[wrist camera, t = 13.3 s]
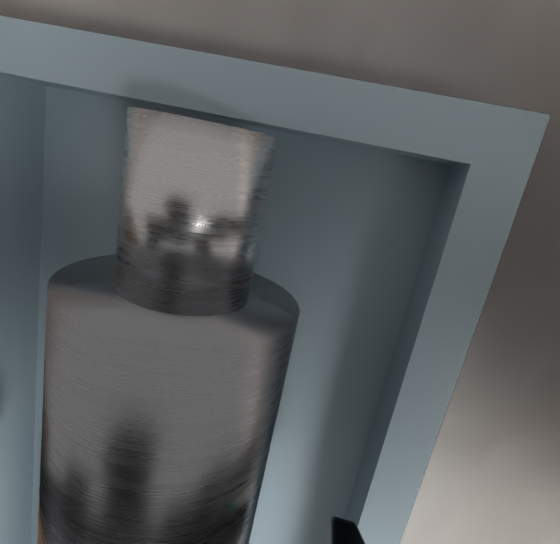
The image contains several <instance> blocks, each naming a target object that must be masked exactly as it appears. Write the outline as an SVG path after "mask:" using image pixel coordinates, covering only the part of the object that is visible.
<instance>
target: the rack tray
mask: <svg viewBox="0 0 560 544" xmlns="http://www.w3.org/2000/svg"><path fill="white" fill-rule="evenodd" d="M127 107H136V108H143V109H149V110H154V111H160V112H165V113H170V114H176V115H181V116H186V117H191V118H196V119H200V120H205V121H210V122H215V123H219V124H224V125H228V126H233V127H237V128H242V129H246V130H250V131H254V132H258V133H262V134H266V135H270V136H273V137H276V138H278V141H277V146H276V152H275V157H274V163H273V168H272V174H271V179H270V185H269V190H268V196H267V201H266V207H265V212H264V218H263V223H262V229H261V234H260V240H259V245H258V251H257V256H256V261H255V267H254V272H253V273H255V274H258V275H260V276H263V277H265V278H267V279H269V280H271V281H273V282H274V283H276V284H278V285H280V286H281V287H282V288H284V289H285V290H286V291H288V292H289V293H290V294H291V295H292V296H293V297H294V299H295V300H296V301H297V303H298V305H299V309H300V313H299V319H298V323H297V328H296V332H295V337H294V341H293V346H292V350H291V355H290V360H289V364H288V369H287V373H286V378H285V382H284V387H283V391H282V396H281V400H280V405H279V409H278V414H277V418H276V423H275V427H274V432H273V436H272V441H271V445H270V450H269V455H268V459H267V464H266V468H265V473H264V477H263V482H262V486H261V491H260V495H259V500H258V504H257V509H256V513H255V518H254V522H253V527H252V531H251V536H250V540H249V544H323V541H324V538H325V534H326V531H327V527H328V524H329V521H330V519H331V518H332V517H334V516H336V517H339V518H343V519H346V520H350V521H353V522H354V523H355V524H356V525H357V527H358V529H359V531H360V533H361V535H362V537H363V539H364V542H365V544H400V542H401V539H402V536H403V533H404V530H405V527H406V525H407V522H408V519H409V516H410V513H411V510H412V508H413V505H414V502H415V499H416V496H417V493H418V491H419V488H420V485H421V482H422V479H423V476H424V474H425V471H426V468H427V465H428V462H429V459H430V457H431V454H432V451H433V448H434V445H435V442H436V439H437V437H438V434H439V431H440V428H441V425H442V422H443V420H444V417H445V414H446V411H447V408H448V405H449V403H450V400H451V397H452V394H453V391H454V388H455V386H456V383H457V380H458V377H459V374H460V371H461V369H462V366H463V363H464V360H465V357H466V354H467V352H468V349H469V346H470V343H471V340H472V337H473V335H474V332H475V329H476V326H477V323H478V320H479V317H480V315H481V312H482V309H483V306H484V303H485V300H486V298H487V295H488V292H489V289H490V286H491V283H492V281H493V278H494V275H495V272H496V269H497V266H498V264H499V261H500V258H501V255H502V252H503V249H504V247H505V244H506V241H507V238H508V235H509V232H510V230H511V227H512V224H513V221H514V218H515V215H516V212H517V210H518V207H519V204H520V201H521V198H522V195H523V193H524V190H525V187H526V184H527V181H528V178H529V176H530V173H531V170H532V167H533V164H534V161H535V159H536V156H537V153H538V150H539V147H540V144H541V142H542V139H543V136H544V133H545V130H546V127H547V125H548V122H549V119H550V116H551V115H549V114H544V113H538V112H533V111H527V110H522V109H516V108H510V107H505V106H499V105H494V104H488V103H483V102H477V101H472V100H466V99H461V98H455V97H449V96H444V95H438V94H433V93H427V92H422V91H416V90H411V89H405V88H400V87H394V86H389V85H383V84H377V83H372V82H366V81H361V80H355V79H350V78H344V77H339V76H333V75H328V74H322V73H316V72H311V71H305V70H300V69H294V68H289V67H283V66H278V65H272V64H267V63H261V62H255V61H250V60H244V59H239V58H233V57H228V56H222V55H217V54H211V53H206V52H200V51H195V50H189V49H183V48H178V47H172V46H167V45H161V44H156V43H150V42H145V41H139V40H134V39H128V38H122V37H117V36H111V35H106V34H100V33H95V32H89V31H84V30H78V29H73V28H67V27H61V26H56V25H50V24H45V23H39V22H34V21H28V20H23V19H17V18H12V17H6V16H0V544H37V540H38V514H39V487H40V461H41V435H42V409H43V383H44V357H45V331H46V305H47V286H48V281H49V279H50V278H51V276H52V275H53V274H54V273H55V272H57V271H58V270H59V269H61V268H63V267H65V266H67V265H69V264H71V263H74V262H77V261H80V260H84V259H88V258H93V257H98V256H105V255H114V254H115V249H116V237H117V225H118V214H119V202H120V190H121V178H122V166H123V154H124V143H125V131H126V119H127Z"/></svg>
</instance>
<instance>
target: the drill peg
mask: <svg viewBox="0 0 560 544" xmlns="http://www.w3.org/2000/svg"><path fill="white" fill-rule="evenodd" d="M277 141H278V138H276V137H273V136H270V135H266V134H262V133H258V132H254V131H250V130H246V129H242V128H237V127H233V126H228V125H224V124H219V123H215V122H210V121H205V120H200V119H196V118H191V117H186V116H181V115H176V114H170V113H165V112H160V111H154V110H149V109H143V108H136V107H127V119H126V131H125V143H124V154H123V166H122V178H121V190H120V202H119V214H118V225H117V237H116V249H115V254H114V255H105V256H98V257H93V258H88V259H84V260H80V261H77V262H74V263H71V264H69V265H67V266H65V267H63V268H61V269H59V270H58V271H57V272H55V273H54V274H53V275H52V276H51V278H50V279H49V281H48V286H47V305H46V331H45V357H44V383H43V409H42V435H41V461H40V487H39V514H38V540H37V544H249V540H250V536H251V531H252V527H253V522H254V518H255V513H256V509H257V504H258V500H259V495H260V491H261V486H262V482H263V477H264V473H265V468H266V464H267V459H268V455H269V450H270V445H271V441H272V436H273V432H274V427H275V423H276V418H277V414H278V409H279V405H280V400H281V396H282V391H283V387H284V382H285V378H286V373H287V369H288V364H289V360H290V355H291V350H292V346H293V341H294V337H295V332H296V328H297V323H298V319H299V313H300V309H299V305H298V303H297V301H296V300H295V299H294V297H293V296H292V295H291V294H290V293H289V292H288V291H286V290H285V289H284V288H282V287H281V286H280V285H278V284H276V283H274V282H273V281H271V280H269V279H267V278H265V277H263V276H260V275H258V274H255V273H253V272H254V267H255V261H256V256H257V251H258V245H259V240H260V234H261V229H262V223H263V218H264V212H265V207H266V201H267V196H268V190H269V185H270V179H271V174H272V168H273V163H274V157H275V152H276V146H277Z"/></svg>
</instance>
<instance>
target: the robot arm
mask: <svg viewBox="0 0 560 544" xmlns="http://www.w3.org/2000/svg"><path fill="white" fill-rule="evenodd" d="M323 544H365V542H364V539H363V537H362V535H361V533H360V531H359V529H358V527H357V525H356V524H355V523H354V522H353V521H350V520H346V519H343V518H339V517H336V516H334V517H332V518H331V519H330V521H329V524H328V527H327V531H326V534H325V538H324V541H323Z"/></svg>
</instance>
